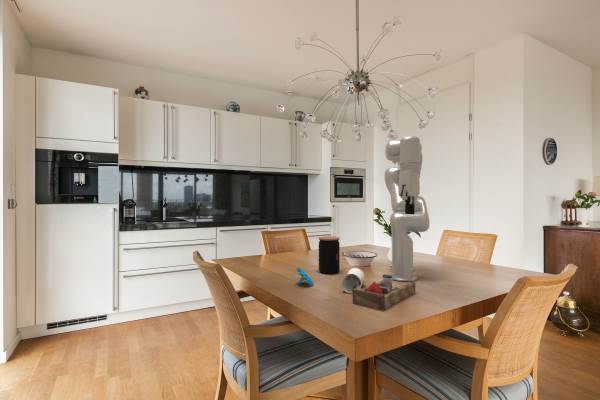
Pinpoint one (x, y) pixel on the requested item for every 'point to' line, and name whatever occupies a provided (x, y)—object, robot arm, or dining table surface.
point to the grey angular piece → (387, 284)
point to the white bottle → (352, 280)
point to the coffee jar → (329, 255)
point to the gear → (304, 277)
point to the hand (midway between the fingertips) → (409, 214)
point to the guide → (382, 296)
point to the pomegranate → (375, 288)
